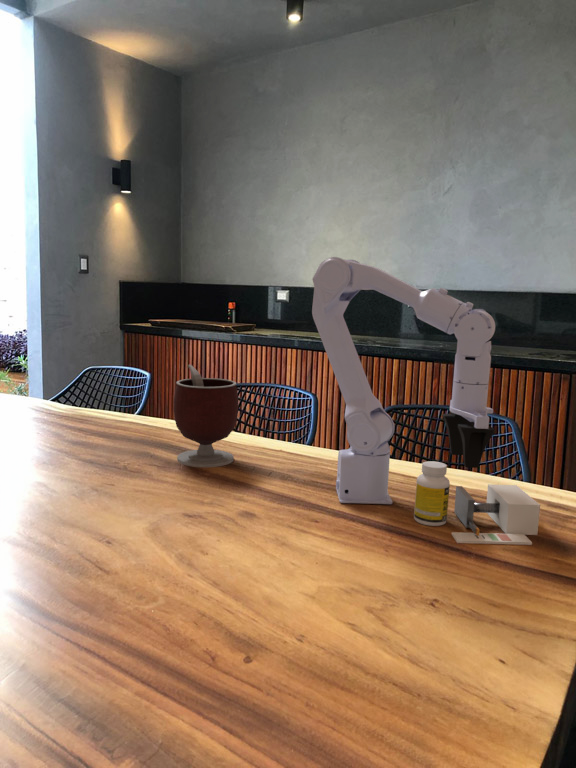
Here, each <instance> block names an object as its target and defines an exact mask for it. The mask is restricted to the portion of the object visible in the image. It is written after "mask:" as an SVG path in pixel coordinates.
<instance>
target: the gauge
mask: <svg viewBox="0 0 576 768" xmlns="http://www.w3.org/2000/svg"><path fill="white" fill-rule="evenodd" d="M486 493H487V494H486V502H485V503H500V508H499V513H486V514H487V515H488V516H489V517H490V518H491V520H492V521H494V522H495V524H496V525H497V526H498V527H499V528H500V529H501V530H502V532H503V533H495V532H494V533H493V532H492V533H490V532H489V533H488V532H479V536H477V535H476V534H475V533H474V532H460V531H459V532H456V531H452V532H451V536H452V538H453V539H454V541H455V542H456V543H457V544H478V545H479V544H480V545H481V544H483V545H485V544H487V545H517V546H518V545H520V546H521V545H522V546H523V545H524V546H525V545H527V546H532V545H533V542H532V541H531V540H530V539H529V537H527V536H528V535H529V536H538V531H539V530H538V529H539V522H540V521H539V520H540V513H541V512H540V511H541V504H540V503H539V502H538V501H536V500H535V499H534V498H532V496H530V495H529V494H528V493H527V492H526V491H524V490H523V489H522V488H521V487H519V486H518V485H517V484H487V491H486Z"/></svg>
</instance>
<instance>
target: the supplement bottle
mask: <svg viewBox="0 0 576 768" xmlns="http://www.w3.org/2000/svg"><path fill="white" fill-rule="evenodd" d="M447 467H448V465H447V464H446V463H443V462H441V461H440V462H439V461H433V460H432V461H431V460H430V461H423V462H422V464H421V472H422V473H420V474H419V475H418V476H417V478H416V487H415V498H414V511H413V518H414V520H415V522H417V523H418V524H421V525H424V526H429V527H430V526H431V527H439V526H444V525H445V524H446V522H447V519H448V510H449V509H448V508H449V495H450V487H451V486H450V484H451V483H450V480H449V479H448V478H447V477H446V475H447V469H448V468H447Z"/></svg>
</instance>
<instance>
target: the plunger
mask: <svg viewBox="0 0 576 768" xmlns="http://www.w3.org/2000/svg"><path fill="white" fill-rule="evenodd" d="M454 498H455V499H454V510H453V511H454V512H453V513H454V514H455V516H457V518H458V519H459V521H460V522H461V523H462V524H463V525H464V527H465V529H467V528H468V529H471V531H472V533H475V534H476V535H477V536H479V533H480V531H481V530H480V528H479V527H478V526H477V525H476V524H475V522H474V513H477V514H478V513H484V514H487V513H499V508H500V503H486V502H476V501H475V500H476V499H474V498H473V497H472V495H470V493H468V491H467V490H466V489H465V488H464V487H463V486H462V485H460V486H459V485H458V486H457V485H456V486H455V497H454Z"/></svg>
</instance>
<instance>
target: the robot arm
mask: <svg viewBox="0 0 576 768" xmlns="http://www.w3.org/2000/svg"><path fill="white" fill-rule="evenodd" d="M311 280H312V283H313V298H312V308H311V314H312V319H313V322H314V324H315V326H316V329H317V332H318V334H319V337H320V340H321V343H322V345H323V348H324V350H325V352H326V356H327V358H328V360H329V361H328V362H329V364H330V365H331V368H332V371H333V374H334V377H335V379H336V381H337V384H338V388H339V390H340V393H341V395H342V397H343V400H344V403H345V410H344V411H345V412H344V421H345V423H346V439H347V442H348V444H349V446H350V448H347V449H340V450H339V451H338V456H337V467H336V469H337V471H336V480H335V490H336V494H337V497H338V500H339V503H341V504H369V505H370V504H373V505H392V504H393V499H392V497H391V496H390V494H389V492H388V491H389V490H388V489H389V475H390V474H389V472H390V457H391V456H390V455H391V448H390V445H389V441H390V439H391V438H392V437H393V436H394V433H395V423H394V421H393V418H392V417H391V415H390V414H388V413H387V412H386V411H385V409H384V408H383V405H382V402H381V401H380V400H379V399H378V398H377V397H376V396H375V395H374V394H373V390H372V388H371V385H370V383H369V381H368V377H367V375H366V373H365V369H364V367H363V365H362V362H361V359H360V356H359V354H358V351H357V349H356V347H355V343H354V341H353V338H352V335H351V333H350V331H349V328H348V325H347V322H346V320H345V318H344V313H345V312H346V310H347V308H348V305H349V304H350V302H351V300H352V299H353V298H354V297H355V296H356V295H358V293H359V292H360V291H363V290H364V291H370V290H371V291H372V290H373V291H376V292H378V293H380V294H383V295H385V296H387V297H389V298H391V299H392V300H393V299H394V300H395V301H398V302H399V303H402V304H404V305H407V306H409V307H411V308H413V310H414V313H415V316H416V318H417V319H419V320H420V321H422V322H424V323H426V324H428V325H430V326H432V327H434V328H436V329H438V330H440V331H442V332H444V333H445V334H447V335H453V334H454V336H455V338H456V340H457V343H456V352H455V355H454V367H453V379H452V390H451V391H452V393H451V394H452V395H451V399H450V402H449V412H450V413H443V414H441V415H442V419H443V421H444V424H445V426H446V430H447V434H448V440H449V450H450V454H451V455H452V456H462V457H463V466H464V468H468V469H469V468H471V469H472V468H475V469H477V468H479V465H480V463H481V460H482V458H483V454H484V452H485V450H486V447H487V445H488V443H489V441H490V440H491V438H492V437H493V436H494V434H495V433H496V429H495V428H494V427H493V426H492V427H491V426H489V425H490V417H489V415H488V414H493V413H494V409H493V408H491V407H489V406H488V405H487V404H488V397H489V396H488V395H489V394H488V393H489V383H490V372H491V363H492V355H491V351H492V340H491V339H492V337H493V336H494V334H495V332H496V322H495V320H494V317H493V316H492V315H491V314H490V313H489V312H487V311H486V310H485V309H484V308H475V309H473V307H474V303H472V302H470V301H467V302H463V301H462V300H460V299H457V298H455V297H453V296H451V295H449V294H448V293H449V290H447V289H445V288H443V287H439V288H438V289H437V288H434V287H433V288H429V289H427V290H424V291H422V290H420V289H419V288H417V287H415V286H413V285H412V284H409V283H407V282H406V281H403V280H401V279H400V278H398V277H396V276H394V275H392V274H390V273H388V272H386V271H385V270H382V269H381V268H379V267H375V266H373V265H369V264H367V263H366V264H365V263H361V262H360V261H358V260H356V259H344V258H341V257H337V256H331V257H328V258H326V259H324V260H323V261H322V262H321V263H320V264H319V265H318V267H317V269H316V271H315V273H314V275H313V277H312V279H311ZM487 406H488V407H487Z"/></svg>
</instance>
